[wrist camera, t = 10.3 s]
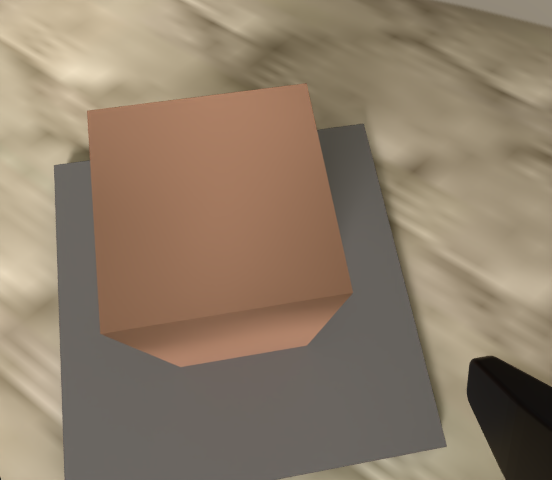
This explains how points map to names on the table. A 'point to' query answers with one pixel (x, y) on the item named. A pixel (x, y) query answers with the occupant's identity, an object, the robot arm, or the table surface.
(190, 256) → the terracotta block
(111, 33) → the table surface
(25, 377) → the table surface
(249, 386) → the rubber mat
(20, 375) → the table surface
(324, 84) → the table surface
